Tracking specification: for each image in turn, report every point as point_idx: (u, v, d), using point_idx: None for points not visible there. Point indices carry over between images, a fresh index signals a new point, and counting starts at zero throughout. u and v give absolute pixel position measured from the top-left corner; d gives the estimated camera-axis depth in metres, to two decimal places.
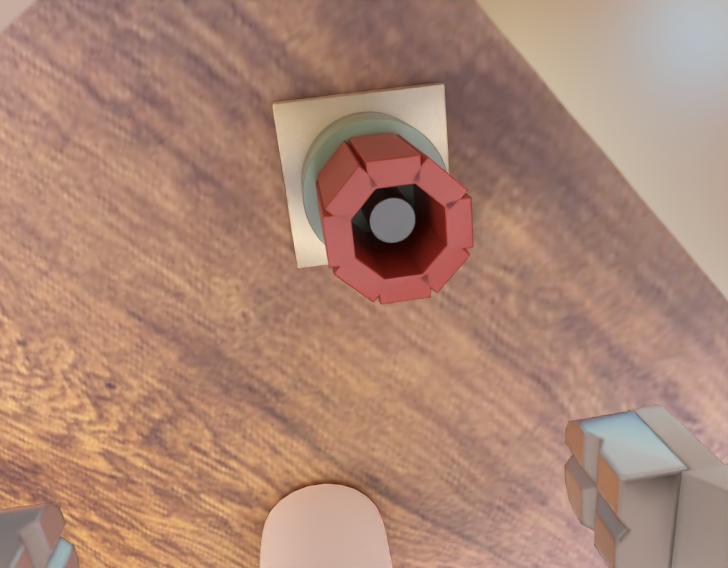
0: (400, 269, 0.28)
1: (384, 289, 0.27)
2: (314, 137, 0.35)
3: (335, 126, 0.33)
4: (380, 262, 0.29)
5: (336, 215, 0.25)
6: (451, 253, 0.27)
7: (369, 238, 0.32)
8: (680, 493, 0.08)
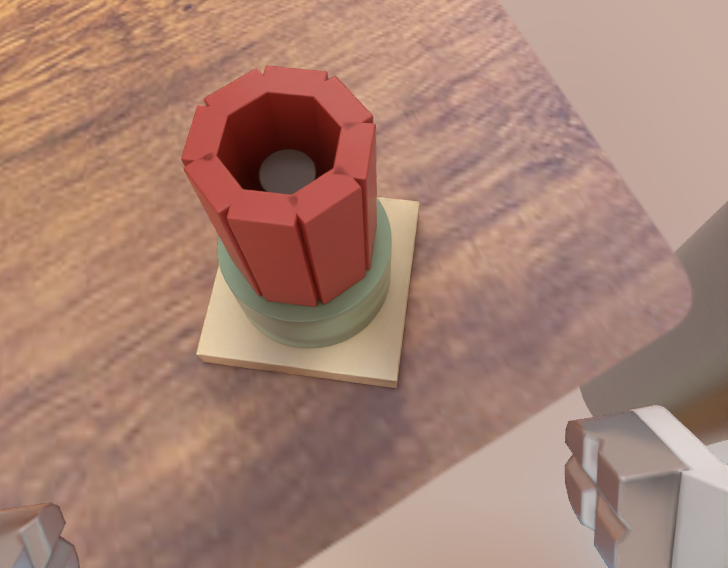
0: (228, 150, 0.22)
1: (214, 112, 0.21)
2: None
3: None
4: (240, 154, 0.23)
5: (324, 84, 0.22)
6: (229, 191, 0.20)
7: None
8: (680, 493, 0.08)
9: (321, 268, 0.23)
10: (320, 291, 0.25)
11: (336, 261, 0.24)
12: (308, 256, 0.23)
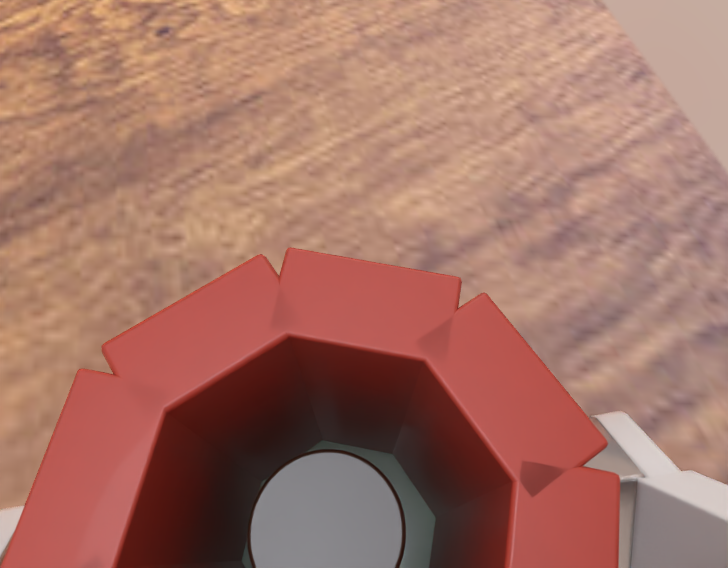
0: (165, 495, 0.08)
1: (127, 397, 0.07)
2: None
3: None
4: (206, 450, 0.09)
5: (454, 319, 0.08)
6: None
7: (251, 478, 0.13)
8: (636, 500, 0.08)
9: None
10: None
11: None
12: None
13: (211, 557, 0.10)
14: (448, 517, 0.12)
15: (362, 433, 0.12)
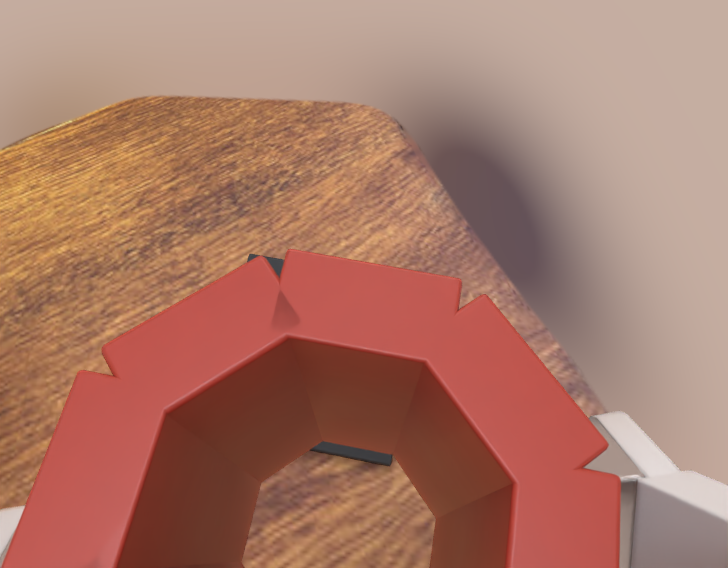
0: (165, 496, 0.08)
1: (127, 399, 0.07)
2: None
3: None
4: (206, 451, 0.09)
5: (454, 320, 0.07)
6: None
7: (251, 479, 0.13)
8: (636, 500, 0.08)
9: None
10: None
11: None
12: None
13: (211, 558, 0.10)
14: (448, 518, 0.11)
15: (362, 434, 0.12)
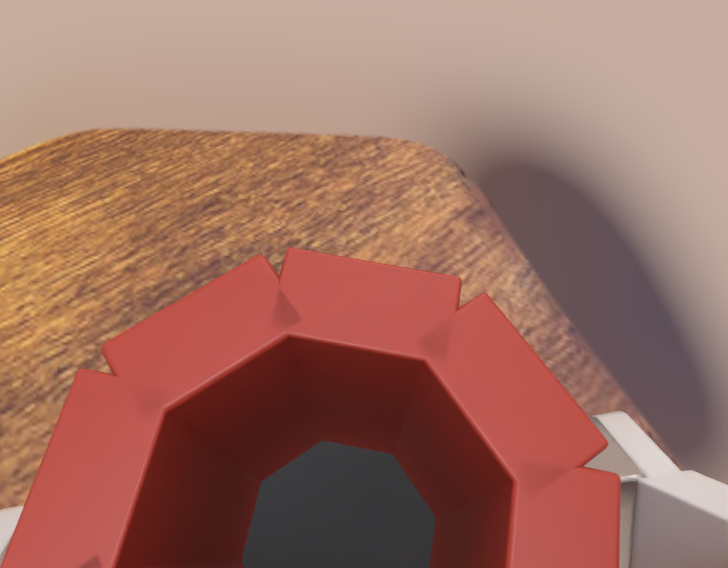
0: (164, 495, 0.07)
1: (127, 397, 0.07)
2: None
3: None
4: (206, 450, 0.09)
5: (454, 319, 0.07)
6: None
7: (251, 478, 0.13)
8: (636, 500, 0.08)
9: None
10: None
11: None
12: None
13: (211, 557, 0.10)
14: (448, 517, 0.11)
15: (362, 433, 0.12)
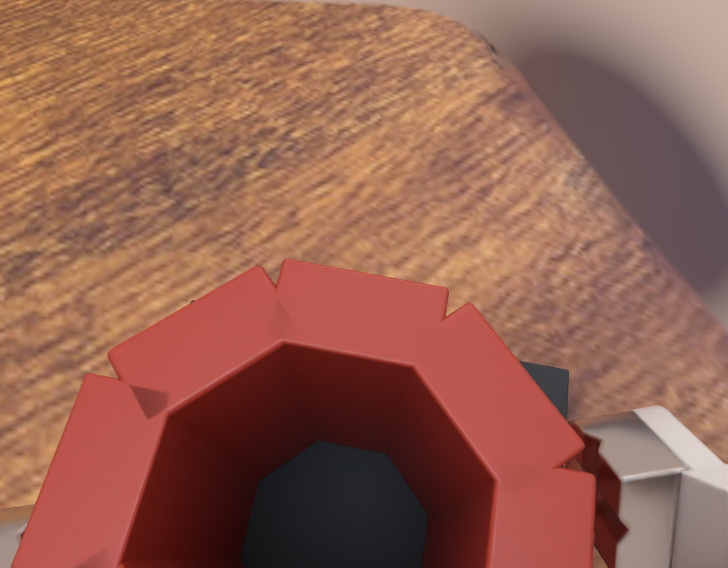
0: (167, 493, 0.08)
1: (131, 401, 0.08)
2: None
3: None
4: (206, 450, 0.09)
5: (441, 327, 0.08)
6: None
7: (249, 477, 0.13)
8: (680, 493, 0.08)
9: None
10: None
11: None
12: None
13: (210, 553, 0.11)
14: (439, 515, 0.12)
15: (357, 434, 0.13)
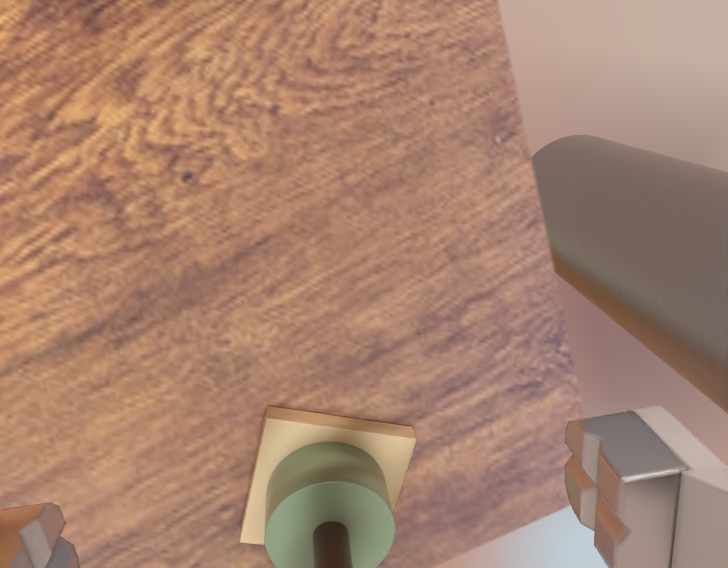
0: None
1: None
2: (378, 462, 0.41)
3: (389, 500, 0.39)
4: None
5: None
6: None
7: None
8: (680, 493, 0.08)
9: None
10: None
11: None
12: None
13: None
14: None
15: None
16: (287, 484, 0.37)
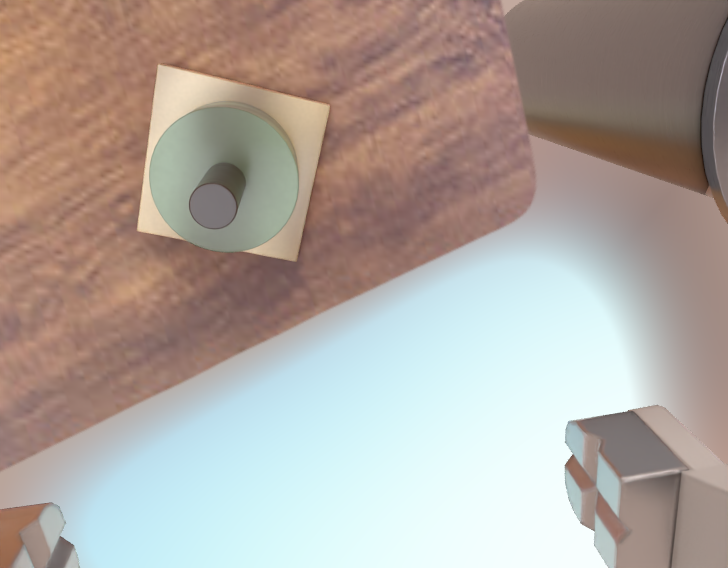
0: None
1: None
2: (288, 133, 0.37)
3: (296, 161, 0.35)
4: None
5: None
6: None
7: None
8: (680, 493, 0.08)
9: None
10: None
11: None
12: None
13: None
14: None
15: None
16: None
